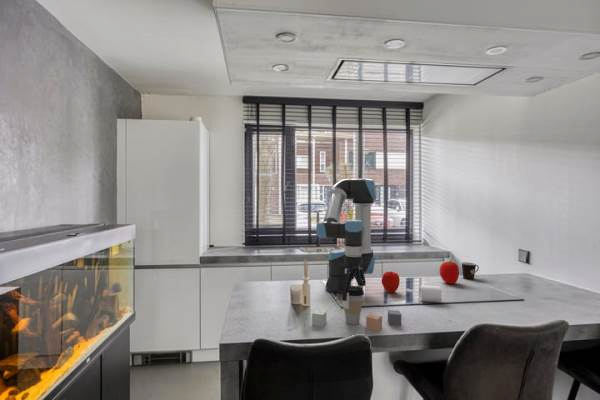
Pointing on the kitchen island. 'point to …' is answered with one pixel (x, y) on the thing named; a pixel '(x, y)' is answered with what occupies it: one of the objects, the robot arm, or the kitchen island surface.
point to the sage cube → (319, 317)
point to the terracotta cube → (374, 322)
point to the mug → (430, 294)
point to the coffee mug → (469, 270)
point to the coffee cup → (354, 305)
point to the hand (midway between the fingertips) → (352, 304)
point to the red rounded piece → (390, 281)
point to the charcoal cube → (394, 317)
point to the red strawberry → (449, 272)
